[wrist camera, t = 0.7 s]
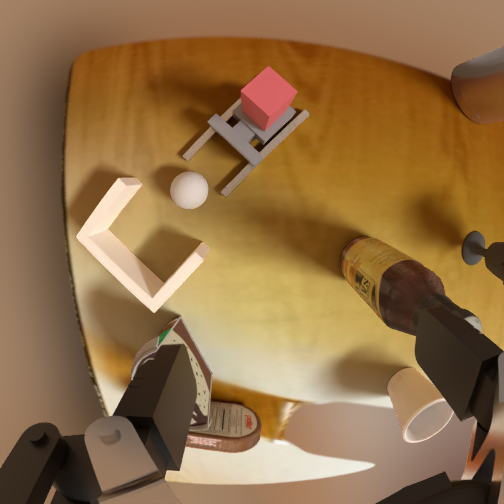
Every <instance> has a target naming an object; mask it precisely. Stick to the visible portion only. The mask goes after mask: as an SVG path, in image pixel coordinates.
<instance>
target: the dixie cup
mask: <svg viewBox="0 0 504 504" xmlns="http://www.w3.org/2000/svg"><path fill="white" fill-rule="evenodd" d="M387 391H388V393H389V396H390V399H391V401H392V404H393V407H394V409H395V412H396V415H397V418H398V420H399V423H400V426H401V429H402V437H403V439H404V440H405V441H407V442H412V443H415V442H420V441H423V440H426V439H428V438H430V437H432V436H433V435H435V434H436V433H437V432H439V431H440V430H441V429H442V428H443V427H444V426H445V425H446V424H447V423H448V422H449V420H450V419H451V416H452V415H453V412H454V411H453V410H452V408H451V407H450V406H449V404H448V403H447V401H446V400H445V399H444V397H443V396H442V395H441V393H440V392H439V391H438V389H437V388H436V387H435V386H434V385H433V384H432V383H431V382H430V381H429V380H427V379H426V378H425V377H424V376H423V375H422V374H421V373H420V372H418V371H417V370H416V369H415V368H411V367H409V368H404V369H402V370H400V371H398V372H397V373H396V374H395V375H394V376H393V377H392V378H391V379H390V381H389V383H388V386H387Z"/></svg>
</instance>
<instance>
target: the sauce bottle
mask: <svg viewBox="0 0 504 504" xmlns="http://www.w3.org/2000/svg"><path fill="white" fill-rule="evenodd" d="M341 269H342V273H343V274H344V276H345V279H346V280H347V282H348V283H349V284H350V285H351V286H352V287H353V288H354V290H355V291H356V292H357V293H358V294H359V295H360V296H361V297H362V298H363V299H364V301H365V302H366V303H367V304H368V305H369V306H370V307H371V308H372V309H373V311H374V312H375V313H376V314H377V315H378V316H379V317H380V319H381V320H382V321H383V322H384V323H385V324H386V325H387V326H388V327H390V328H392V329H395V330H398V331H401V332H404V333H407V334H411V335H414V336H416V335H417V327H418V318H419V313H420V311H421V310H422V309H425V308H430V307H434V306H438V305H442V306H443V307H444V308H446V309H447V310H448V311H449V312H451V313H452V314H453V315H455V316H458V317H460V318H462V319H465V320H467V321H468V322H469V323H470V324H472V325H473V326H474V328H477V329H478V330H479V331H480V332H481V333H482V325H481V322H480V320H479V318H478V317H477V316H475V315H474V314H473V313H471V312H470V311H468V310H466V309H462V308H460V307H459V306H457V305H456V304H454V303H453V302H452V301H451V300H450V299H449V298H448V297H447V296H445V290H444V286H443V283H442V281H441V279H440V278H439V277H438V276H437V275H436V274H435V273H434V272H433V271H431V270H429V269H428V268H426V267H424V266H423V265H422V264H421V263H420V262H418V261H416V260H415V259H413V258H411V257H409V256H408V255H406V254H404V253H402V252H400V251H399V250H397V249H395V248H393V247H392V246H390V245H388V244H386V243H384V242H382V241H380V240H378V239H375V238H371V237H366V236H365V237H360V238H357V239H355V240H353V241H351V242H350V243H349V244H348V245H347V246H346V247H345V249H344V250H343V253H342V256H341Z"/></svg>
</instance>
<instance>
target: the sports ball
mask: <svg viewBox="0 0 504 504" xmlns="http://www.w3.org/2000/svg"><path fill="white" fill-rule="evenodd" d="M170 193H171V197H172V200H173V201H174V202H175V204H176V205H178V206H179V207H181V208H184V209H194V208H197V207H199V206H200V205H202V204H203V203H204V201H205V200H206V198H207V195H208V184H207V182H206V180H205V179H204V177H203V176H202V175H200V174H199V173H196V172H193V171H187V172H183V173H181V174H179V175H178V176H176V177H175V179H174V180H173V182H172V184H171V188H170Z"/></svg>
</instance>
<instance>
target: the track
mask: <svg viewBox="0 0 504 504" xmlns="http://www.w3.org/2000/svg"><path fill="white" fill-rule="evenodd" d="M240 103H242V102H241V98H240V99H239V100H237V101H236V102H235V103H234V104H233V105H232V106H231V107H230V108H229V109H228V110H227V111H226V112H225V113H224V114H223V115H222V116H221V118H222V119H223V120H224V121H225V122H226V123H227V122H228V121H229V120H230V119H231V118H232V117H233V113H232V111H233V110H234V109H235V108H236V107H237V106H238V105H239V104H240ZM309 115H310V114H309V113H308V112H307V111H306V110H304V111H303V112H301V113H300V114H299V115H298V116H297V117H296V118H295V119H294V120H293V121H292V122H291V123H290V124H289V125H288V126H286V127H285V128H284V129H283V130H282V131H281V132H280V133H279V134H278V135H277V136H276V137H275V138H274V139H273V140H272V141H271V142H270V143H269V144H268V145H267V146H266V147H265V148H264V149H263V150H262V151H261V152H260V154H261V155H262V156H263V159H264V158H265V157H266V156H267V155H268V154H269V153H270V152H271V151H272V150H273V149H274V148H275V147H277V146H278V145H279V144H280V143H281V142H282V141H283V140H284V139H285V138H286V137H287V136H288V135H289V134H290V133H291V132H292V131H293V130H294V129H295V128H296V127H297V126H298V125H299V124H301V123H302V122H303V121H304V120H305V119H306V118H307V117H308V116H309ZM216 133H217V132H216V131H215V130H214V129H213V128H212V127H210V128H209V129H208V130H207V131H206V132H205V133H204V134H203V135H202V136H201V137H200V138H199V139H198V140H197V141H196V142H195V143H194V144H193V145H192V146H191V147H190V148H189V149H188V150H187V152H186V153H185V154H184V155H183V157H184V158H185V159H186V160H187V161H190V160H191V158H192V157H193V156H194V155H195V154H196V153H197V152H198V151H199V150H200V149H201V148H202V147H203V146H204V145H205V144H206V143H207V142H208V141H209V140H210V139H211V138H212V137H213V136H214V135H215V134H216ZM263 159H262V160H263ZM262 160H261V161H262ZM261 161H260V162H261ZM260 162H259V163H260ZM259 163H258V164H259ZM258 164H257V165H258ZM257 165H256V166H257ZM256 166H255V167H256ZM255 167H254V166H253V165H251V164H250V163H249V164H248V165H247V166H246V167H245V168H244V169H243V170H242V171H241V172H240V173H239V174H238V175H237V176H236V177H235V178H234V179H233V180H232V181H231V182H230V183H229V184H228V185H227V186H226V187H225V188H224V189H223V190H222V191H221V193H222V194H223V195H224V196H225V197H227V196H228V195H229V194H230V193H231V192H232V191H233V190H234V188H235V187H236V186H237V185H238V184H239V183H240V182H241V181H242V180H243V179H244V178H245V177H246V176H247V175H248V174H249V173H250V172H251V171H252V170H253V169H254V168H255Z"/></svg>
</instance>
